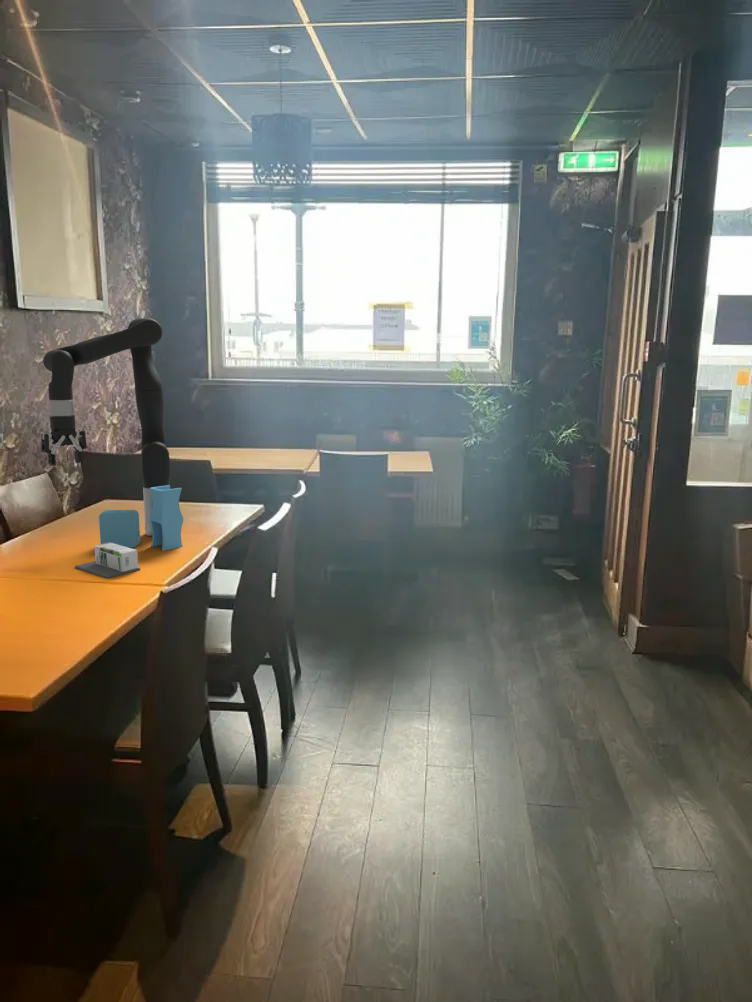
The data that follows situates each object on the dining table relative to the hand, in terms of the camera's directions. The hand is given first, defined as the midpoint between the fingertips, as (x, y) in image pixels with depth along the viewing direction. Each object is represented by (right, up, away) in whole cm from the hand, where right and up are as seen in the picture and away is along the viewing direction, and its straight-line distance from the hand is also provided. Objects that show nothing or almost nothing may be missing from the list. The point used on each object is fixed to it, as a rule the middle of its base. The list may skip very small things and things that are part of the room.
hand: (65, 464), depth 238 cm
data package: (+15, -27, +9) cm, 32 cm away
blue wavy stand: (+30, -27, +9) cm, 42 cm away
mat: (+20, -32, -17) cm, 42 cm away
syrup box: (+28, -30, -21) cm, 46 cm away
